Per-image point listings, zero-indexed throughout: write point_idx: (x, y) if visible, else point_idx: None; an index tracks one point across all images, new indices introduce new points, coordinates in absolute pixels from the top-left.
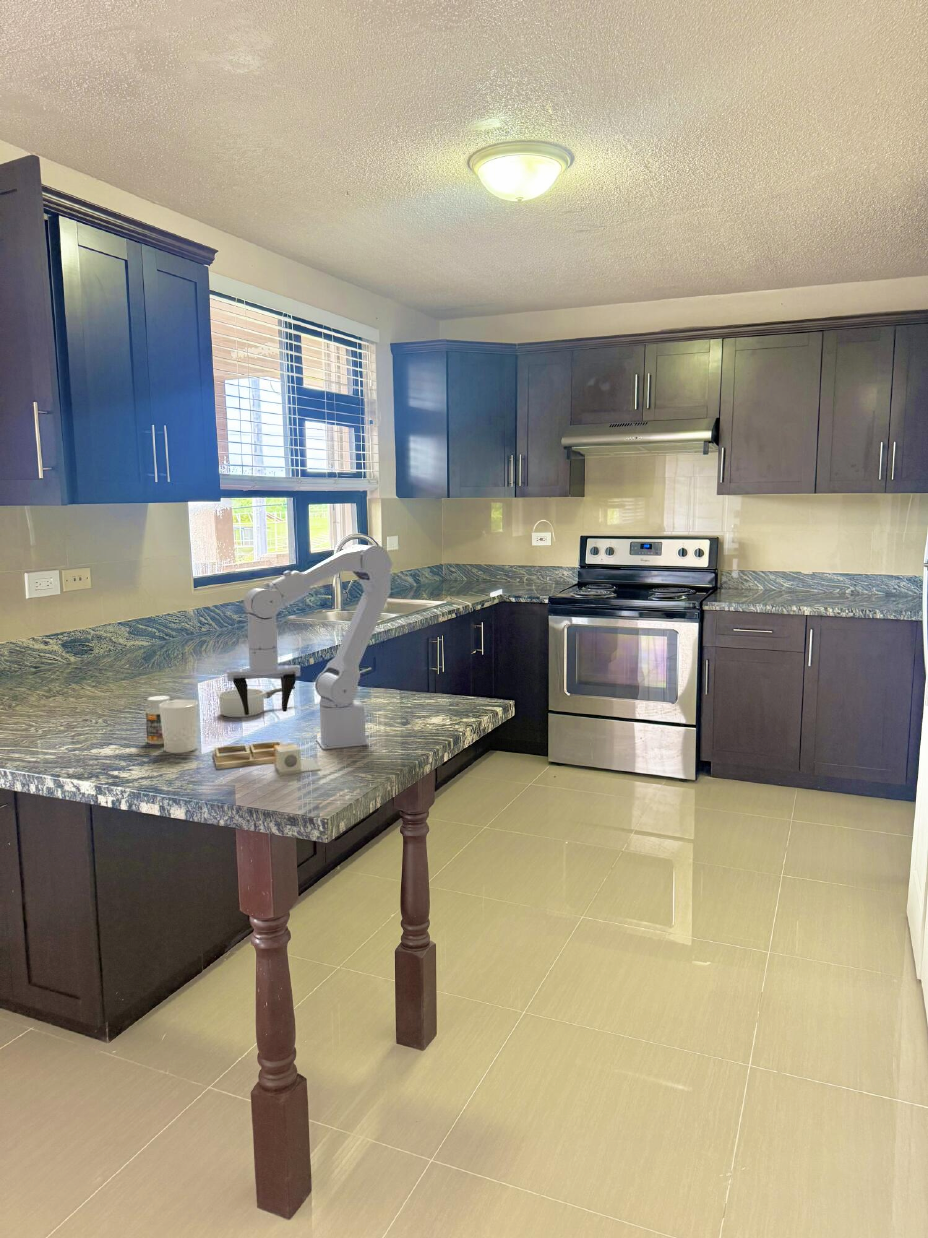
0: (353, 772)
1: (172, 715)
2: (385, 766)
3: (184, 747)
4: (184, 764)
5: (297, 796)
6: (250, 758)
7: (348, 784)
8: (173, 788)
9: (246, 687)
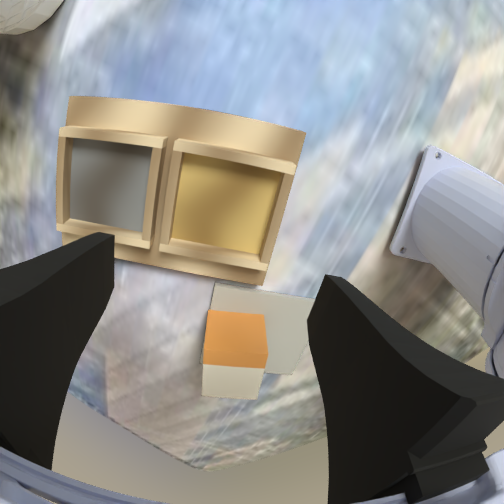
0: None
1: None
2: None
3: (19, 31)
4: (8, 151)
5: (197, 433)
6: (154, 245)
7: (289, 428)
8: None
9: (47, 450)
